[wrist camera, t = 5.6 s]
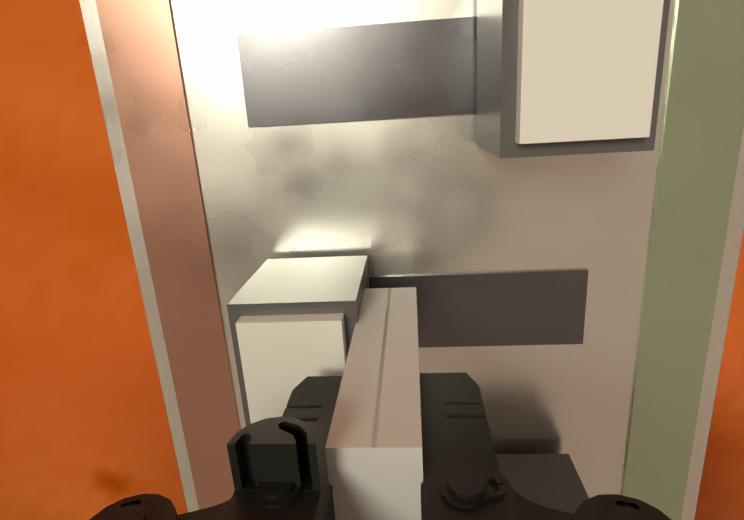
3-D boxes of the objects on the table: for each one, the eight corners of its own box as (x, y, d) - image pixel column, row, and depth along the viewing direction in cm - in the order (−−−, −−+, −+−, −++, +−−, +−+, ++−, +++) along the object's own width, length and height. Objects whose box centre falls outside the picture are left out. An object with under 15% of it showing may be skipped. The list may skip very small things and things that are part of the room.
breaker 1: (282, 377, 16) (245, 460, 12) (267, 258, 15) (220, 311, 11) (375, 375, 16) (365, 460, 12) (367, 255, 14) (354, 307, 11)
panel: (215, 544, 21) (200, 579, 19) (98, -54, 14) (61, -73, 13) (662, 548, 19) (684, 586, 18) (762, -115, 13) (810, -145, 11)
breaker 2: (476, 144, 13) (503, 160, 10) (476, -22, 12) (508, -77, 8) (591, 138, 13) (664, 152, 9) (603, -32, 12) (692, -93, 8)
